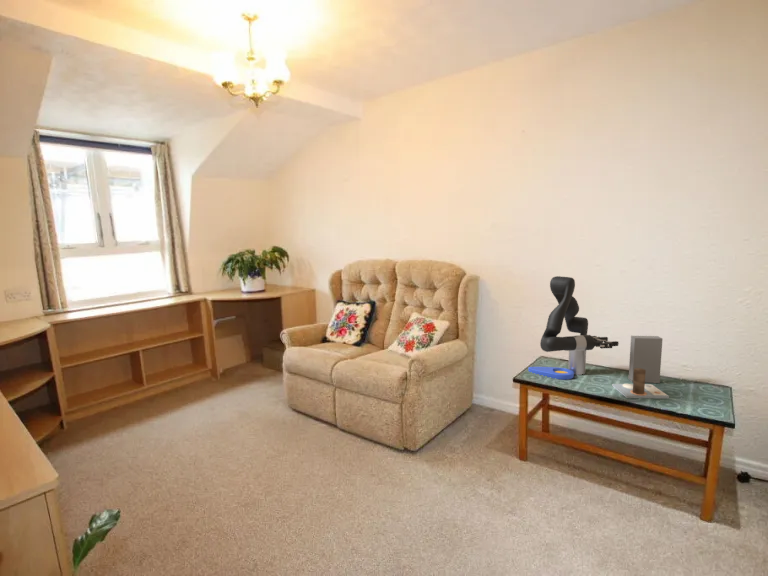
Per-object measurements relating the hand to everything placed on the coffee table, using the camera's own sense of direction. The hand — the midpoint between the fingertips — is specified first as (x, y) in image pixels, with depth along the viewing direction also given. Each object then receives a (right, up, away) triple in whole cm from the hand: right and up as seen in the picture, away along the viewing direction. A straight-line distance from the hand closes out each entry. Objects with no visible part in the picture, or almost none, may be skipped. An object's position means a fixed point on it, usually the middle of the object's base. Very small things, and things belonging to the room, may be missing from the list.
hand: (612, 341), depth 208 cm
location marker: (-17, -24, +35) cm, 46 cm away
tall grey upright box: (+29, -25, +21) cm, 43 cm away
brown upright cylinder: (+14, -26, +2) cm, 30 cm away
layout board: (+17, -27, +6) cm, 33 cm away
